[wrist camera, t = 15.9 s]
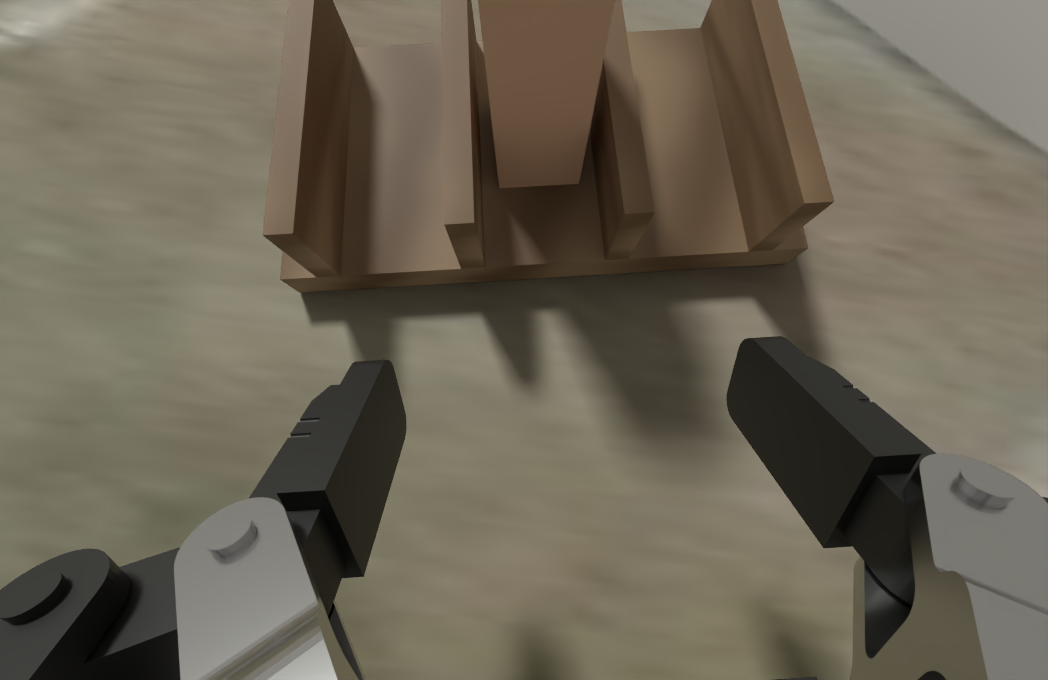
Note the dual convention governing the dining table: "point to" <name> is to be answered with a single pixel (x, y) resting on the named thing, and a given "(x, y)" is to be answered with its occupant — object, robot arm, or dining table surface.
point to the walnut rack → (538, 211)
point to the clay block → (542, 84)
